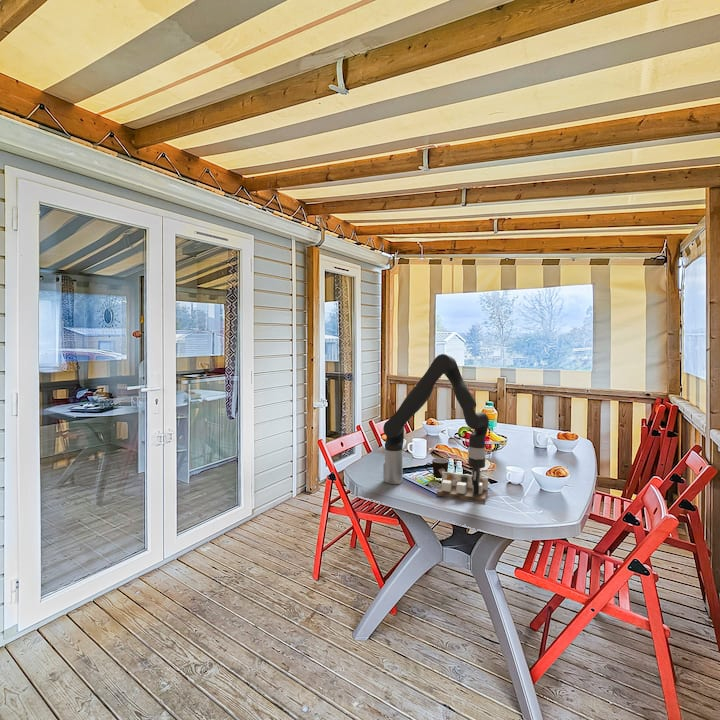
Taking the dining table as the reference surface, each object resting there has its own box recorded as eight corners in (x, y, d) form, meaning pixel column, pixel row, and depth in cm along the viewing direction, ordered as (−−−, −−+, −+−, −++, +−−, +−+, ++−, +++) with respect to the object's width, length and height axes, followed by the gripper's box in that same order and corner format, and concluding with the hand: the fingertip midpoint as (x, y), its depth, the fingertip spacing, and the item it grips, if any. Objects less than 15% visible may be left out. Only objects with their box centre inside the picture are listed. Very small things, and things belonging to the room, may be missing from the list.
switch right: (472, 492, 194) (472, 484, 194) (473, 489, 198) (474, 481, 198) (481, 494, 193) (481, 485, 192) (482, 491, 196) (482, 482, 196)
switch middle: (456, 492, 194) (456, 484, 194) (457, 489, 198) (458, 481, 198) (465, 494, 193) (465, 485, 192) (466, 491, 196) (466, 482, 196)
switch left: (441, 490, 197) (441, 482, 197) (443, 487, 201) (443, 479, 200) (450, 491, 195) (450, 483, 195) (451, 488, 199) (451, 480, 199)
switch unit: (436, 495, 197) (437, 479, 196) (442, 487, 208) (442, 471, 207) (484, 503, 188) (485, 485, 188) (487, 493, 199) (488, 477, 199)
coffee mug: (449, 477, 222) (449, 459, 221) (446, 482, 214) (446, 463, 213) (428, 474, 226) (428, 456, 226) (424, 479, 218) (424, 461, 218)
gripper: (470, 451, 198) (470, 486, 199) (466, 459, 186) (465, 496, 187) (487, 453, 195) (486, 489, 196) (483, 461, 183) (482, 499, 184)
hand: (476, 492), depth 191 cm, fingers closed
